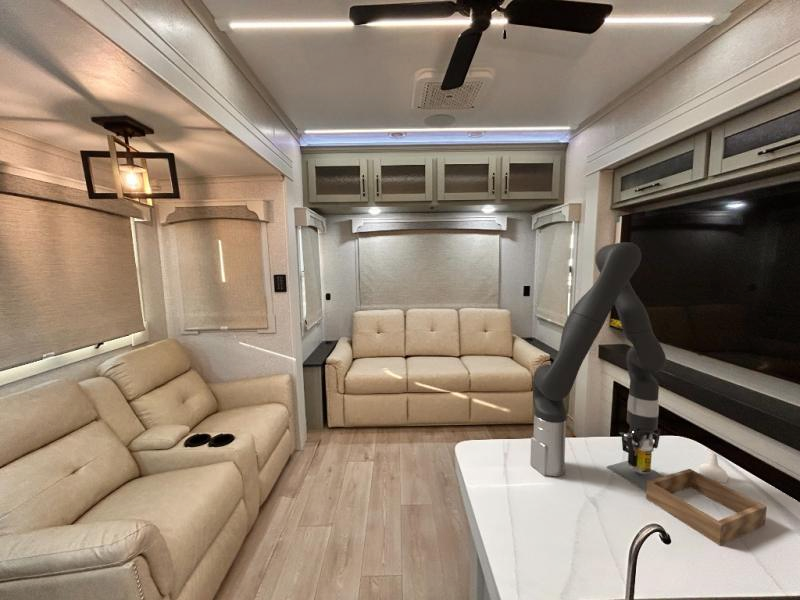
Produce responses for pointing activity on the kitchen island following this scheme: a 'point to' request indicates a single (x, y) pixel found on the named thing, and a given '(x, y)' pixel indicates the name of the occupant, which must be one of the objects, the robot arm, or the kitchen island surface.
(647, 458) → the supplement bottle
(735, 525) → the crate frame
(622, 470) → the mat
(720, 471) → the garlic bulb
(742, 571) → the kitchen island surface
